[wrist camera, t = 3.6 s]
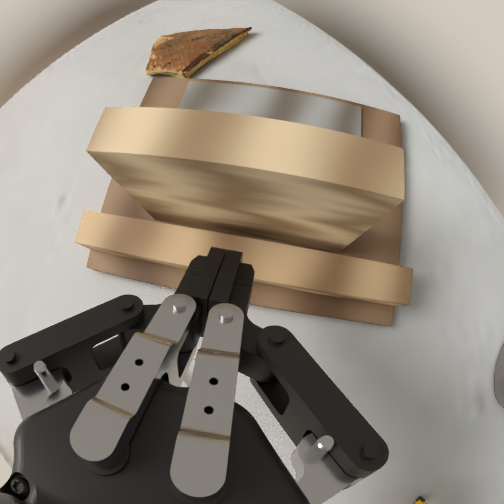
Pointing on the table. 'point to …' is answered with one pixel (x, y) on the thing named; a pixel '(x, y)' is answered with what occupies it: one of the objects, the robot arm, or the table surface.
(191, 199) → the oak plank
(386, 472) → the table surface
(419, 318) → the table surface
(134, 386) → the robot arm
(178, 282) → the wooden tray
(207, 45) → the shard
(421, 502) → the robot dog
